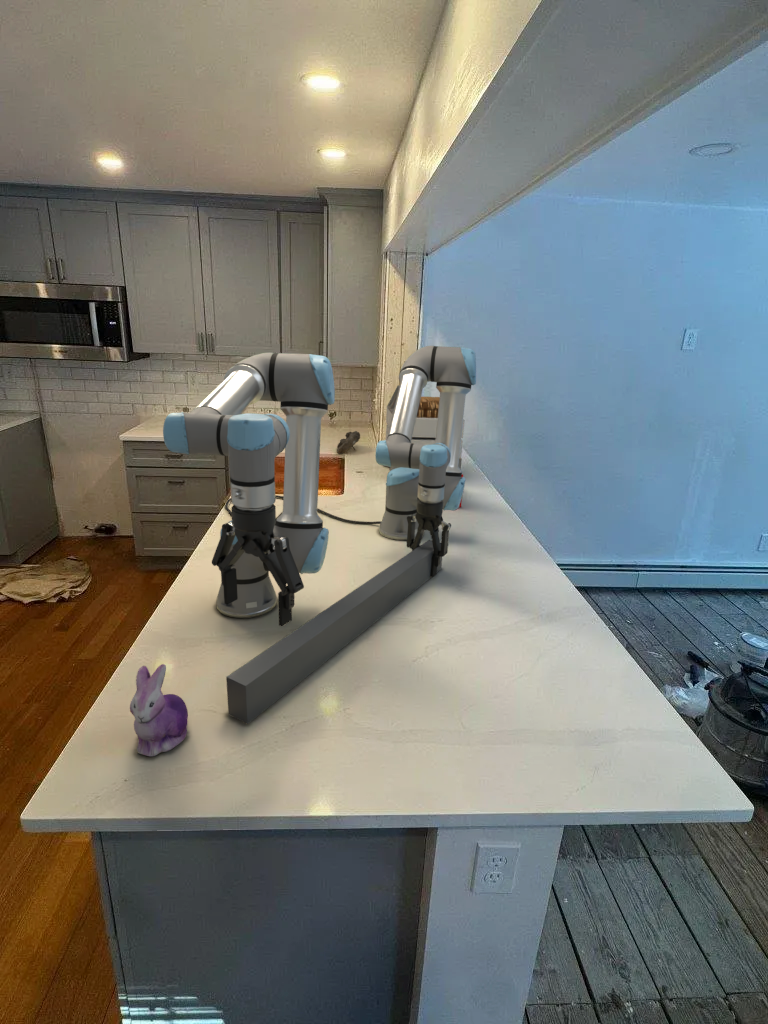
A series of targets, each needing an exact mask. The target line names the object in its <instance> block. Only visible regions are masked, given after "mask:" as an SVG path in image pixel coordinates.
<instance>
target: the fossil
mask: <svg viewBox="0 0 768 1024" xmlns="http://www.w3.org/2000/svg"><path fill="white" fill-rule="evenodd" d="M360 439H361V434H360V432H359V431H357V430H355V431H348V432H346V434H345V438H341V439H340V440H339V442H338V444H337V446H336V453H337V454H343V453H347V452H348V451H349V450H350V449H351V448H353V450H354V451H356V448H355V445H356V444H357V443H358V442H359V441H360Z"/></svg>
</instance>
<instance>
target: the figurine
mask: <svg viewBox="0 0 768 1024" xmlns="http://www.w3.org/2000/svg"><path fill="white" fill-rule="evenodd" d="M166 672H167V665H166V664H164V663H161V664H160V665H159V666H157V668H156V669H155V670H154V671H153V673H152V674H151V673H150V671H149V668H148V667H147V666H146V665H141V666H140V667H139V668H138V670H137V672H136V679H135V686H136V688H135V689H136V690H135V693H134V695H133V696H132V699H131V700H130V704H129V711H130V714H131V715H132V716H133V717H134V722H133V730H134V732H135V734H136V736H137V738H138V739H137V740H138V743H137V747H136V750H137V753H138V754H140V755H144V756H147V757H156V756H157V755H159V754H160V753H167V752H170V751H171V750H173V749H174V748H175V747H177V746H178V745H180V744H181V743H182V742H183V741H184V740H185V739H186V738H187V734H188V722H189V721H188V718H189V711H188V707H187V704H186V702H185V701H184V700H183V698H182V697H181V696H179V695H178V694H174V693H166V694H163V692H162V687H163V684H164V680H165V677H166Z"/></svg>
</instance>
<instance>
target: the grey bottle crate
mask: <svg viewBox="0 0 768 1024" xmlns="http://www.w3.org/2000/svg"><path fill="white" fill-rule="evenodd" d="M399 386H400V384H398V385H397V386H396V388H395V390H394V392H393V394H392V395H391V398H390V400H389V402H388V404H387V405H386V413H385V414H386V415H385V423H386V428H385V438H384V440H387V435H388V431H389V427H390V423H391V419H392V415H393V411H394V407H395V403H396V399H397V395H398V390H399ZM439 399H440V396H421V399H420V403H419V408H418V412H417V417H416V422H415V426H414V431H413V435H412V440H411V443H414V444H425V445H431V444H435V439H436V429H437V419H438V409H439ZM464 429H465V419H464V418H463V425H462V435H461V444H460V454H459V463H458V467H459V469H460V470H461V471H462V461H463V460H462V453H463V442H464V441H463V440H462V439H463V438H464V431H465V430H464ZM386 467H388V468H389V472H390V471H391V470H393V469H396V468H400V467H389V466H386Z"/></svg>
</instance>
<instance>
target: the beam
mask: <svg viewBox="0 0 768 1024" xmlns="http://www.w3.org/2000/svg"><path fill="white" fill-rule="evenodd" d="M440 545H441V542H440ZM433 555H434V550H433V543H432V539H428V540H426V541H425V542H423V543H422V544H420V546H419V547H417V548H416V549H414V550H413V551H412V550H411V551H410V552H408V553H407V554H405V555H404V556H402V557H401V558H400V559H398V560H397V561H395V562H394V563H392V564H391V565H389V566H387V567H386V568H384V569H383V570H382V571H380V572H378V574H376V575H374V576H373V577H371V578H370V579H368V580H367V581H365V582H364V583H363V584H361V585H359V586H358V587H356V588H355V589H354V590H353V591H350V592H349V593H348V594H347V595H345V596H344V597H342V598H341V599H339V600H337V601H336V602H334V603H333V604H332V605H330V606H329V607H327V608H326V609H324V610H322V611H321V612H320V613H318V614H317V615H315V616H314V617H313V618H311V619H309V620H308V621H306V622H305V623H303V624H302V625H300V626H299V627H297V628H296V629H295V630H294V631H291V632H290V633H289V634H287V635H286V636H285V637H283V638H282V639H280V640H279V641H276V643H274V644H272V645H271V646H269V647H267V649H265V650H264V651H262V652H261V653H259V654H257V655H256V656H255V657H253V658H252V659H250V660H248V661H247V662H246V663H244V664H243V665H241V666H240V667H238V668H237V669H235V670H234V671H232V672H231V673H229V674H228V675H226V676H225V677H226V693H227V694H226V695H227V711H228V715H229V716H230V717H232V718H235V719H237V720H238V721H240V722H242V723H244V724H246V725H249V724H250V723H251V722H253V721H254V720H255V719H256V718H258V717H259V716H260V715H261V714H262V713H264V712H265V711H266V710H267V709H269V708H270V707H271V706H272V705H274V704H275V703H276V702H278V701H279V700H280V699H281V698H283V697H284V696H285V695H287V693H289V692H290V691H291V690H293V688H295V687H296V686H297V685H299V684H300V683H301V682H302V681H304V680H305V679H306V678H307V677H309V676H311V674H312V673H314V672H315V671H316V670H317V669H319V668H320V667H321V666H322V665H324V664H325V663H326V662H327V661H329V660H330V659H331V658H333V657H334V656H335V655H336V654H337V653H339V652H340V651H341V650H342V649H344V648H345V647H346V646H347V645H349V644H350V643H351V642H352V641H353V640H356V638H357V637H358V636H360V635H361V634H363V632H365V631H366V630H367V629H368V628H370V627H371V626H373V625H374V624H375V623H376V622H377V621H379V620H380V619H381V618H382V617H383V616H384V615H386V614H387V613H389V612H390V611H391V610H392V609H393V608H395V607H396V606H397V605H399V604H400V603H401V602H403V600H405V599H407V597H409V596H410V595H411V594H412V593H413V592H415V591H416V590H417V589H419V588H420V587H421V586H422V585H424V584H425V583H426V582H428V581H429V580H430V579H431V578H432V577H430V575H431V562H432V556H433ZM442 564H443V557H441V560H440V565H439V566H438V567H437V573H438V572H440V571H442V566H443V565H442Z"/></svg>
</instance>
